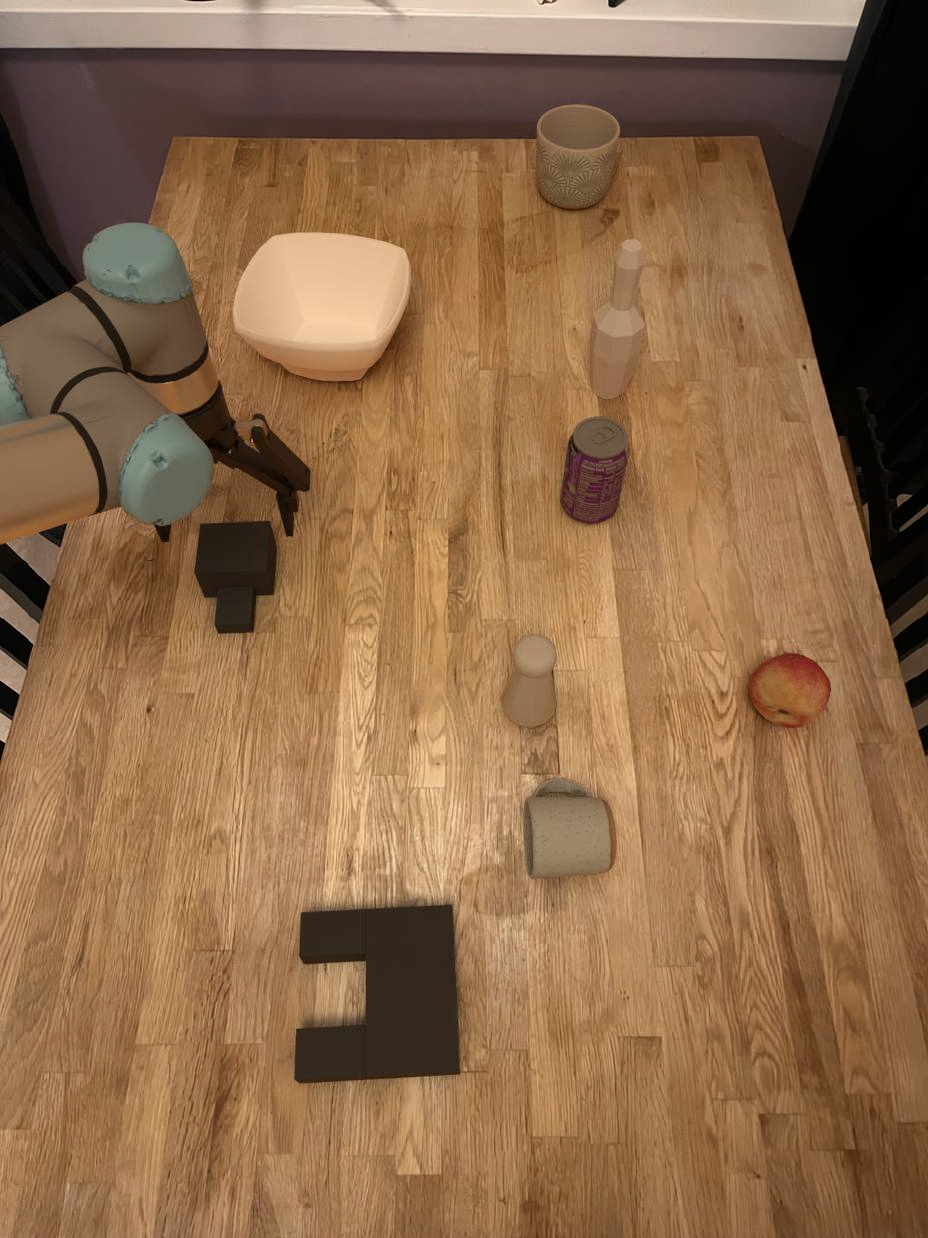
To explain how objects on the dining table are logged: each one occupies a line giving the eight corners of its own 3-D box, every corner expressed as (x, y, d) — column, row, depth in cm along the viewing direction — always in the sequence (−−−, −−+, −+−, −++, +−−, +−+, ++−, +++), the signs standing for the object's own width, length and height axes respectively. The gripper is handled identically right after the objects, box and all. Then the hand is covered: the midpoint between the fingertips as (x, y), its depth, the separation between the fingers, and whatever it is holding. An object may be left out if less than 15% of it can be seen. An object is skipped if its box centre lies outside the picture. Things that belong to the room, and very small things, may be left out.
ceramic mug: (612, 883, 92) (623, 856, 86) (528, 890, 92) (533, 863, 86) (595, 782, 98) (604, 749, 92) (516, 788, 98) (519, 755, 91)
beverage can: (589, 473, 120) (601, 404, 110) (629, 507, 117) (645, 439, 107) (548, 501, 118) (555, 433, 108) (587, 536, 115) (599, 469, 105)
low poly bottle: (575, 379, 129) (593, 237, 111) (615, 364, 131) (640, 222, 112) (599, 409, 126) (623, 269, 108) (640, 394, 128) (670, 252, 109)
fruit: (727, 703, 103) (746, 667, 96) (774, 663, 106) (795, 625, 99) (783, 754, 100) (807, 720, 93) (830, 712, 102) (856, 675, 96)
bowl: (396, 423, 125) (390, 354, 115) (232, 403, 127) (213, 334, 117) (426, 310, 137) (423, 240, 127) (276, 294, 139) (262, 223, 129)
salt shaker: (545, 742, 100) (555, 683, 90) (493, 726, 101) (497, 666, 91) (560, 696, 103) (572, 633, 92) (510, 681, 104) (515, 617, 93)
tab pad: (209, 549, 114) (200, 523, 110) (277, 546, 114) (269, 520, 110) (200, 634, 108) (189, 610, 103) (271, 631, 108) (263, 607, 104)
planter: (573, 161, 156) (579, 94, 147) (627, 196, 151) (637, 129, 142) (516, 190, 152) (519, 123, 143) (570, 227, 147) (577, 160, 138)
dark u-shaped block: (299, 1084, 83) (294, 1079, 81) (305, 921, 91) (300, 912, 88) (459, 1074, 83) (459, 1070, 81) (452, 913, 91) (452, 904, 88)
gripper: (316, 354, 90) (342, 498, 108) (49, 365, 89) (120, 508, 107) (313, 412, 86) (341, 551, 104) (34, 424, 86) (110, 562, 103)
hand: (228, 529), depth 106 cm, fingers open, 13 cm apart
